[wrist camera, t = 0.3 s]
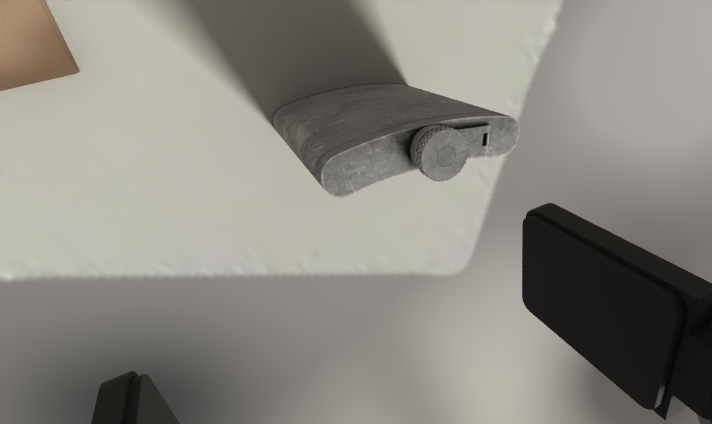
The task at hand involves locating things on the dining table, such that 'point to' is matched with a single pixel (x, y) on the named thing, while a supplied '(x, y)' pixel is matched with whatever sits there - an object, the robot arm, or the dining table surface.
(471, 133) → the flask
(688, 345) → the robot arm
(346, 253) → the dining table surface
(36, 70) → the serving board
